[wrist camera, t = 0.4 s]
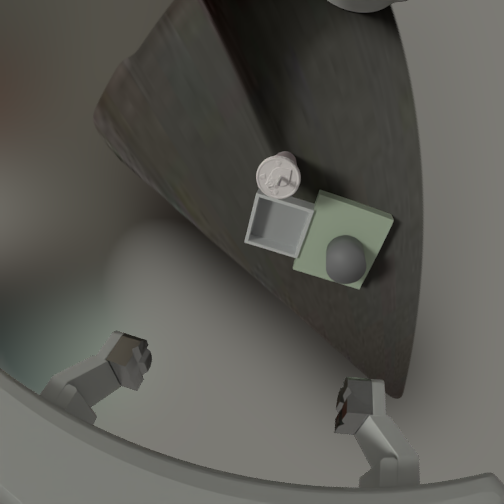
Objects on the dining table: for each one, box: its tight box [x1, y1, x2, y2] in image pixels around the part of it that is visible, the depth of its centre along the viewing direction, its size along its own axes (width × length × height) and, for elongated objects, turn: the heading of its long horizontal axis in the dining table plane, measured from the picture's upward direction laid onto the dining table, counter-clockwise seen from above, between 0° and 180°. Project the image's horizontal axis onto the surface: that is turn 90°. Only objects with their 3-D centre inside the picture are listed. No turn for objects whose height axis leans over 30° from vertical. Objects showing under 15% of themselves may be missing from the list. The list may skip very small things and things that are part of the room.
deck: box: [245, 188, 394, 289], centre depth 53 cm, size 16×24×8 cm, turn 77°
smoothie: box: [256, 151, 301, 199], centre depth 44 cm, size 6×6×14 cm
